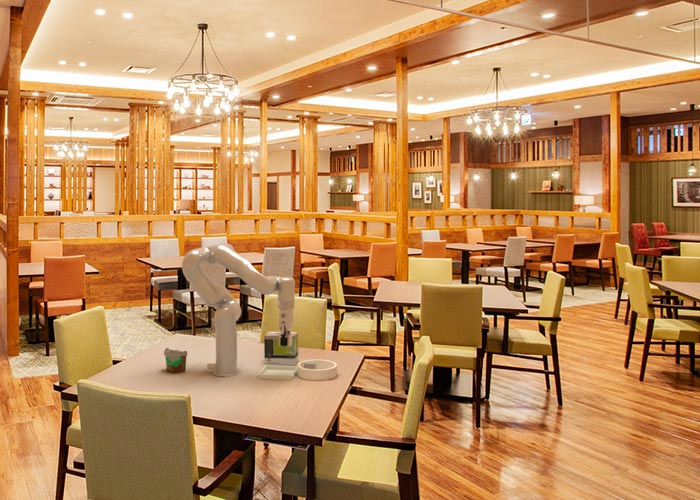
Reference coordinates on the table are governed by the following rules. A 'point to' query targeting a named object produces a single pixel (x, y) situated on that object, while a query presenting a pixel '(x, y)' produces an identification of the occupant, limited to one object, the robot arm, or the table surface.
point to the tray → (277, 372)
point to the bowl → (318, 370)
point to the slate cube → (310, 365)
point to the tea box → (280, 350)
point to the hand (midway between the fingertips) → (285, 344)
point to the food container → (175, 360)
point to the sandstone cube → (288, 339)
